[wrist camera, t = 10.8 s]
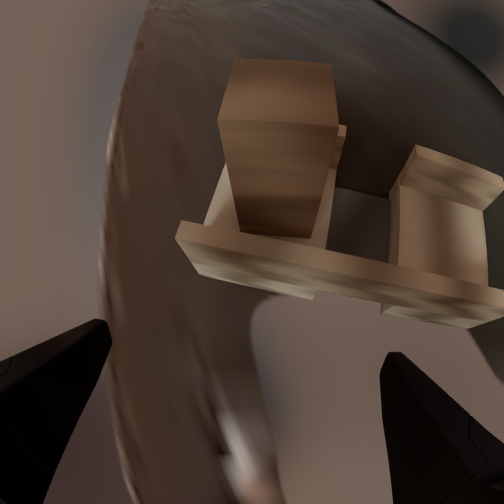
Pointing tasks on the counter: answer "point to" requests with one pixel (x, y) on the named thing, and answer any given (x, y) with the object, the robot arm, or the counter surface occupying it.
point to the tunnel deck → (370, 243)
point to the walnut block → (278, 143)
